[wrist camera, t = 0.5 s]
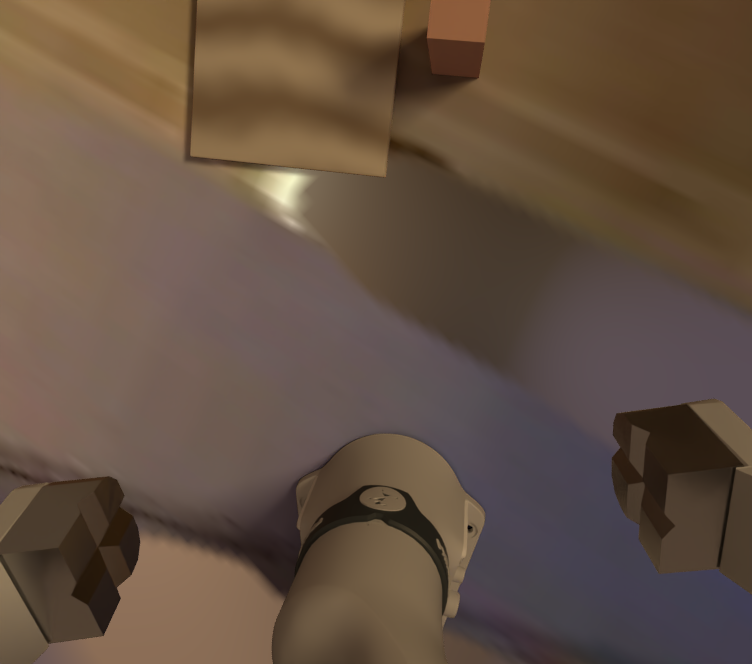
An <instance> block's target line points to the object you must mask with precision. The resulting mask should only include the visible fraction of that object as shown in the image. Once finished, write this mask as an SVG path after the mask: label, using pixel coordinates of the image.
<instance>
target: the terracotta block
mask: <svg viewBox="0 0 752 664" xmlns="http://www.w3.org/2000/svg"><path fill="white" fill-rule="evenodd" d="M490 1H491V0H431V6H430V15H429V23H428V31H427V43H428V50H429V57H430V63H431V70H432V74H437V75H449V76H460V77H472V78H479V73H480V67H481V62H482V56H483V50H484V44H485V37H486V30H487V23H488V16H489V8H490Z"/></svg>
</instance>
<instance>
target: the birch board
mask: <svg viewBox="0 0 752 664" xmlns="http://www.w3.org/2000/svg"><path fill="white" fill-rule="evenodd" d="M404 9H405V0H197V18H196V40H195V62H194V85H193V107H192V129H191V151H190V156H192V157H198V158H208V159H217V160H226V161H236V162H245V163H254V164H264V165H273V166H282V167H292V168H301V169H310V170H320V171H329V172H339V173H348V174H357V175H366V176H376V177H386V171H387V162H388V153H389V144H390V135H391V126H392V117H393V108H394V99H395V90H396V81H397V72H398V63H399V54H400V45H401V36H402V27H403V18H404Z"/></svg>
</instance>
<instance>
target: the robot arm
mask: <svg viewBox="0 0 752 664" xmlns="http://www.w3.org/2000/svg"><path fill="white" fill-rule="evenodd" d="M613 436H614V438H615V439H616V441H617V443H618V444H619V446H620V449H619V450H618V451H617V452H616V454H615V455H614V456H613V457H612V479H613V485H614V490H615V494H616V496H617V499H618V502H619V504H620V506H621V508H622V510H623V512H624V514H625V516H626V517H627V518H629V519H630V520H632V521H634V522H636V523H637V524H639V525H640V526H639V540H640V542H641V544H642V545H643V547H644V549H645V551H646V552H647V554H648V556H649V558H650V559H651V561H652V563H653V564H654V566H655V568H656V570H657V571H658V573H659V574H662V573H674V572H686V571H698V570H710V569H720V570H719V572H721V573H722V574H723V575H725V576H726V577H728V578H729V579H731V580H732V581H733V582H735V583H736V584H738V585H739V586H741V587H742V588H743V589H745V590H746V591H748V592H749V593H750V594H752V430H751V428H749V427H748V426H747V425H746V424H745V423H744V422H743V421H742V420H741V419H740V418H739V417H738V416H737V415H736V414H735V413H734V412H732V410H731V409H729V408H728V407H727V406H726V405H725V404H724V403H723V402H722V401H719V400H716V399H708V400H702V401H696V402H689V403H683V404H681V405H676V406H668V407H660V408H653V409H646V410H638V411H631V412H623V413H617V414H616V416H615V419H614V422H613ZM124 496H125V495H124V493H123V491H122V489H121V487H120V485H119V483H118V481H117V480H116V479H114V478H112V477H109V476H107V477H97V478H87V479H77V480H68V481H58V482H51V483H41V484H33V485H25V486H21V487H19V488H16V489H14V490H13V491H12V492H11V493H10V494H9V495H8V497H7V498H6V499H5V500H4V501H3V503H2V504H1V505H0V664H32V663H33V662H34V661H35V660H36V659H37V658H38V657H39V656H40V655H41V654H42V653H43V652H44V651H45V650H46V649H47V648H48V647H49V645H48V644H50V643H56V642H64V641H71V640H78V639H85V638H92V637H99V636H104V633H105V631H106V629H107V627H108V625H109V623H110V621H111V618H112V616H113V614H114V612H115V610H116V608H117V605H118V603H119V601H120V599H121V598H120V596H119V593H118V590H117V587H118V586H119V585H120V584H121V583H123V582H124V581H125V580H126V579H127V578H128V577H130V575H132V572H133V570H134V568H135V565H136V563H137V561H138V555H139V547H140V538H139V531H138V527H137V524H136V522H135V519H134V517H133V516H132V515H131V514H129V513H128V512H126V511H125V510H124V509H122V508H121V507H120V505H121V503H122V500H123V498H124ZM296 498H297V507H298V515H299V518H298V521H297V528H298V529H299V530H300V538H301V545H302V546H301V548H300V551H299V554H298V559H297V564H296V568H295V579H294V581H293V583H292V585H291V588H290V590H289V592H288V594H287V597H286V599H285V601H284V603H283V606H282V608H281V610H280V613H279V615H278V617H277V619H276V622H275V626H274V631H273V638H272V660H273V664H448V662H447V659H446V656H445V651H444V642H443V626H444V624H445V621H446V619H447V617H450V618H454V617H455V615H456V613H457V609H458V605H459V599H460V594H459V593H458V592H457V591H458V588H459V586H460V583H462V582H463V579H464V575H465V571H466V568H467V566H468V563H469V561H470V558H471V556H472V553H473V551H474V548H475V546H476V543H477V541H478V538H479V536H480V533H481V531H482V528H483V525H484V522H485V512H484V510H483V508H482V507H481V506H480V505H479V504H478V503H477V502H476V501H475V500H474V499H473V498H472V497H470V496H469V495H468V494H467V493H465V491H464V490H463V489H462V487H461V485H460V483H459V481H458V479H457V477H456V475H455V474H454V472H453V470H452V469H451V467H450V466H449V464H448V463H447V462H446V461H445V460H444V459H443V457H442V456H440V455H439V454H438V453H437V452H436V451H435V450H433V449H432V448H430V447H429V446H427V445H426V444H424V443H422V442H420V441H418V440H415V439H413V438H410V437H406V436H402V435H397V434H375V435H370V436H366V437H362V438H360V439H357V440H355V441H353V442H351V443H349V444H348V445H346V446H345V447H343V448H342V449H341V450H339V451H338V452H337V453H336V454H335V455H334V456H333V457H332V459H331V460H330V461H329V462H328V463H327V464H326V465H325V466H324V467H323V468H321V469H319V470H317V471H314V472H312V473H310V474H308V475H306V476H304V477H303V478H301V479H300V480H299V482H298V484H297V487H296ZM468 525H470V526H472V527H473V528H472V529H469V530H468V529H467V527H468Z"/></svg>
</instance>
